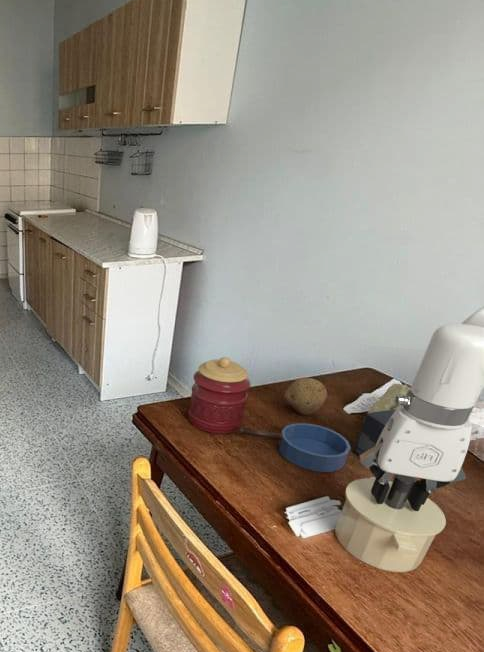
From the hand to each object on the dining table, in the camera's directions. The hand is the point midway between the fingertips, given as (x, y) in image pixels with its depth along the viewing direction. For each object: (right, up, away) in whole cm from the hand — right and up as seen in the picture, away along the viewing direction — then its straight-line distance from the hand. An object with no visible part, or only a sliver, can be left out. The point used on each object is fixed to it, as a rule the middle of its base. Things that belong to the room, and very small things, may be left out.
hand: (395, 501), depth 78 cm
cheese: (+28, +11, +40) cm, 49 cm away
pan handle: (-8, +8, +30) cm, 32 cm away
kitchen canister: (-15, +11, +41) cm, 45 cm away
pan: (+2, +4, +28) cm, 29 cm away
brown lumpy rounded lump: (+9, +13, +44) cm, 47 cm away
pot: (0, -8, +5) cm, 10 cm away
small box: (+18, +4, +27) cm, 33 cm away
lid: (0, -1, +1) cm, 1 cm away
